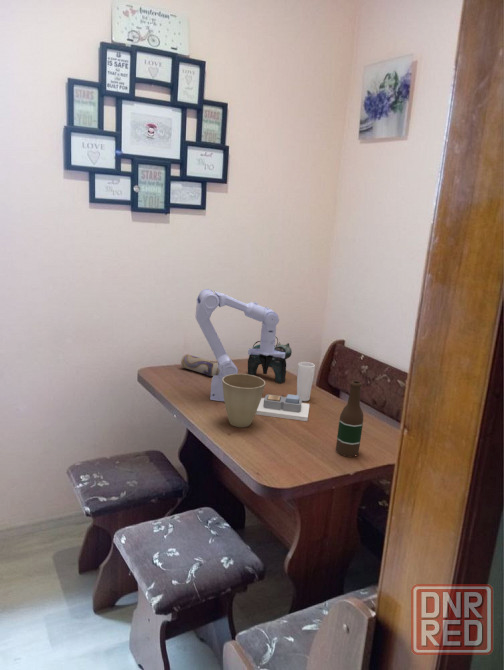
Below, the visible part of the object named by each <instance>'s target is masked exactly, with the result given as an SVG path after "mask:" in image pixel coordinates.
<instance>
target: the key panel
mask: <svg viewBox="0 0 504 670" xmlns="http://www.w3.org/2000/svg"><path fill="white" fill-rule="evenodd" d="M269 395H270V394H265V396H264V397H262V398H261V401H260V403H259V406H258V409H257V411H256V413H255V415H256V416H257V415H258V416H265V417H272V418H273V417H274V418H281V419H286V420H296V421H302V422H303V421H304V422H308V420H309V412H310V403H306V402H303V401H302V400H301V399H300V398H299V401H298V404H295V403H287V402H286V398H287V396H284V395H283V396H282V395H279V396H280V402H279V401H271V400H268V397H269ZM273 395H274V396H277V395H275V394H273Z"/></svg>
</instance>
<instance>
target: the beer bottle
mask: <svg viewBox="0 0 504 670" xmlns="http://www.w3.org/2000/svg"><path fill="white" fill-rule="evenodd" d="M362 387H363V384H362V382H360V381H359V380H352V381H351V382H350V389H349V390H350V391H349V395H348V400H347V403H346V405H345V406H344V407H343V408H342V411H341V412H340V416H339V420H338V421H339V422H338V428H337V429H338V430H337V434H336V435H337V436H336V446H335V452H336V451H337V452H338V453H337V452H336V453H337V454H339V455H340V454H341V456H342V455H345V456H344V457H347V456H354V457H356V456H355V455H357V456H359V451H360V446H361V439H362V432H363V424H364V411H363V409H362V407H361V404H360V403H361V402H360V401H361V391H362V390H361V388H362Z"/></svg>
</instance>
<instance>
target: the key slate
mask: <svg viewBox="0 0 504 670" xmlns="http://www.w3.org/2000/svg"><path fill="white" fill-rule="evenodd" d="M286 397H287V398H286V402H287V403H295V404H298V401H299V396H298V395H297V394H291V393H290V394H289V393H288V394H286Z"/></svg>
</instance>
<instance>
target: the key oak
mask: <svg viewBox="0 0 504 670" xmlns="http://www.w3.org/2000/svg"><path fill="white" fill-rule="evenodd" d="M274 395H275V394H269V397H268V400H271V401H279V402H280V396H281V395H276V396H274Z"/></svg>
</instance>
